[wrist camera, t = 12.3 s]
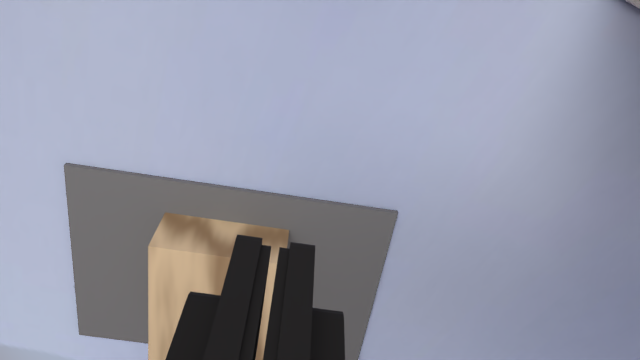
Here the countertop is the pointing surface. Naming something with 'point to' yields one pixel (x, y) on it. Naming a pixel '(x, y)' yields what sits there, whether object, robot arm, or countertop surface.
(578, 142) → the countertop surface
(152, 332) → the slab
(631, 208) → the countertop surface
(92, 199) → the mat
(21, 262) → the countertop surface
